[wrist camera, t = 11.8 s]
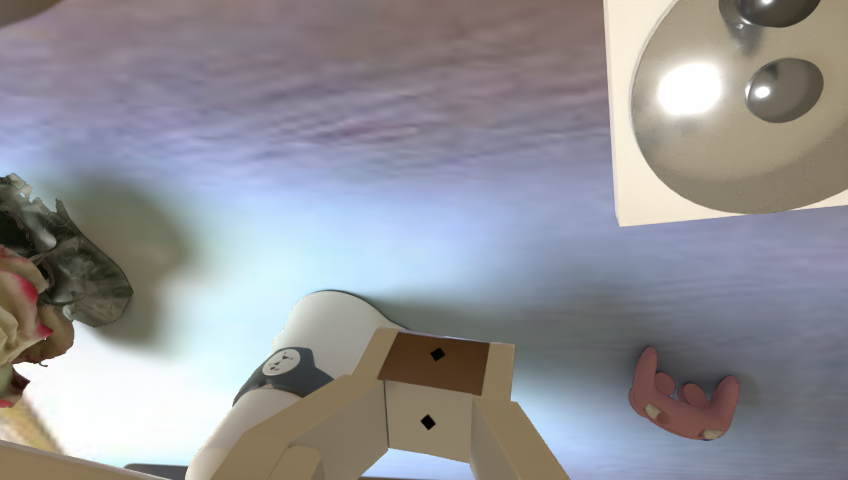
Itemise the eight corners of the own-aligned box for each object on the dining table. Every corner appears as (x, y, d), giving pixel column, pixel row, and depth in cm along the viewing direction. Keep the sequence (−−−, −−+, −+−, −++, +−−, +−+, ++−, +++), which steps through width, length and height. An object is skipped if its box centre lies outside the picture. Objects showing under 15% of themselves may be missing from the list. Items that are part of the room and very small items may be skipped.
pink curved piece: (625, 356, 51) (620, 419, 47) (647, 341, 47) (643, 408, 43) (715, 388, 50) (716, 455, 46) (744, 376, 46) (749, 447, 42)
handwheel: (961, 132, 31) (1080, 169, 24) (681, 239, 39) (710, 290, 32) (892, -142, 26) (1016, -194, 19) (587, 41, 34) (597, 51, 27)
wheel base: (888, 184, 36) (918, 199, 33) (615, 213, 42) (620, 228, 39) (949, -129, 28) (995, -144, 25) (601, -38, 34) (606, -42, 31)
